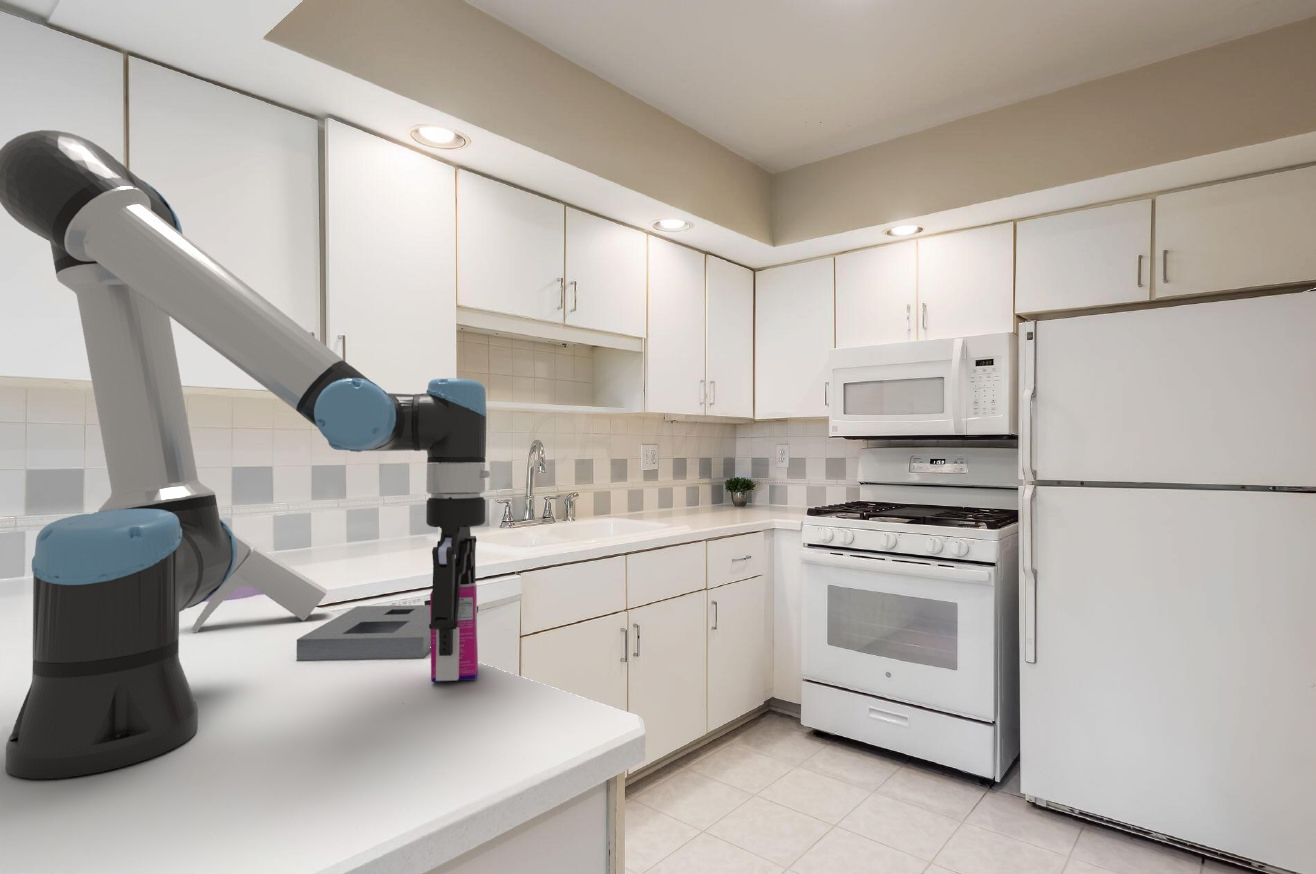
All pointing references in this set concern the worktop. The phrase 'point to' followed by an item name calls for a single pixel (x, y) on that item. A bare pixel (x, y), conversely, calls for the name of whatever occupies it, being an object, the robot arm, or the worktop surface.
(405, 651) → the socket plate
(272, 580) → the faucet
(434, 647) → the supplement box
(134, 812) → the worktop surface
